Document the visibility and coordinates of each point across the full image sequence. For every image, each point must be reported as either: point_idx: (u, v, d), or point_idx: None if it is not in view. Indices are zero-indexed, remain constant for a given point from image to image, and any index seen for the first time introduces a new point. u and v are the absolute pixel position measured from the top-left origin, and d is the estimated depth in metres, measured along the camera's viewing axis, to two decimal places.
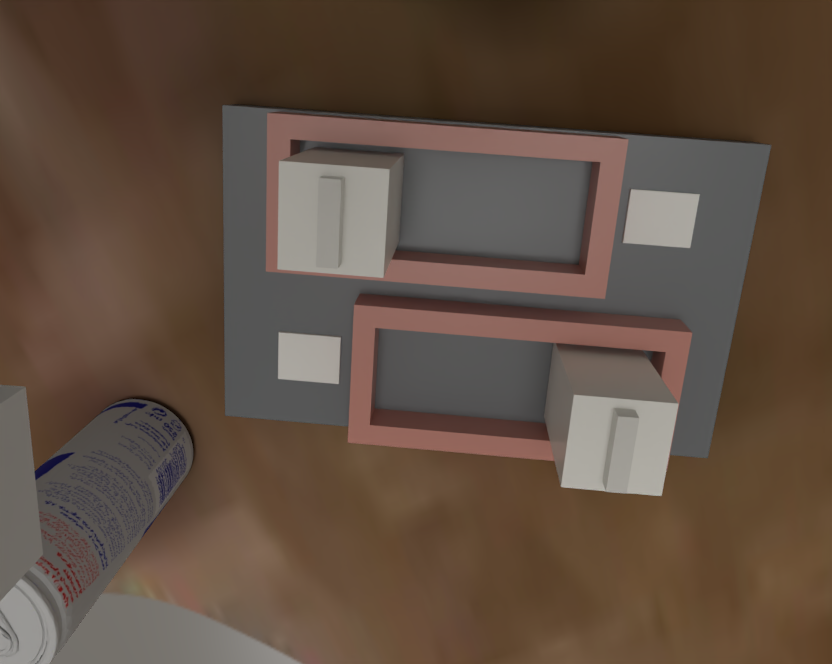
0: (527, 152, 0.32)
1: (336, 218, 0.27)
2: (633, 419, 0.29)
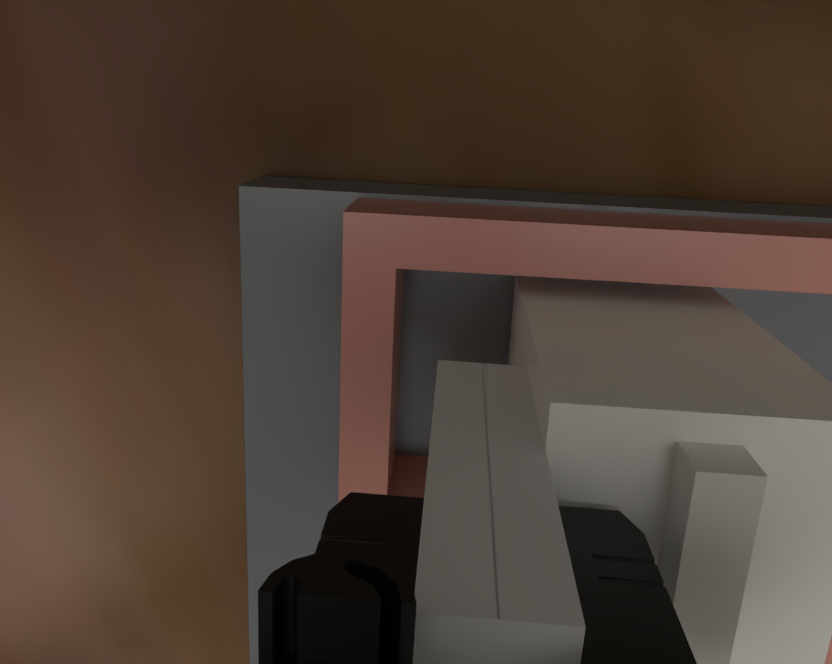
0: None
1: (735, 580, 0.09)
2: None
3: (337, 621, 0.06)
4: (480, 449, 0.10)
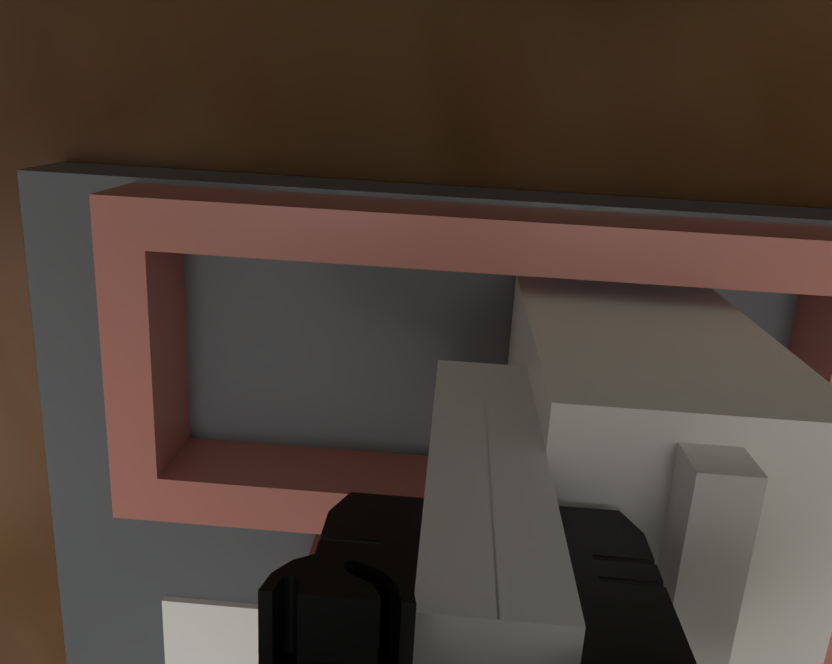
0: (680, 276, 0.14)
1: (735, 581, 0.09)
2: None
3: (337, 621, 0.06)
4: (480, 449, 0.10)
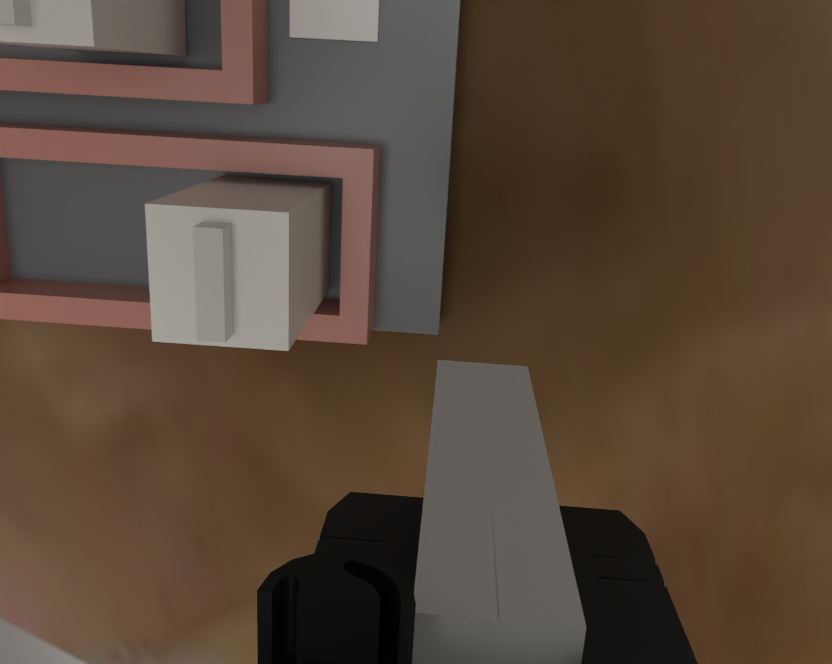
0: None
1: None
2: (216, 231, 0.21)
3: (336, 621, 0.06)
4: (481, 449, 0.10)
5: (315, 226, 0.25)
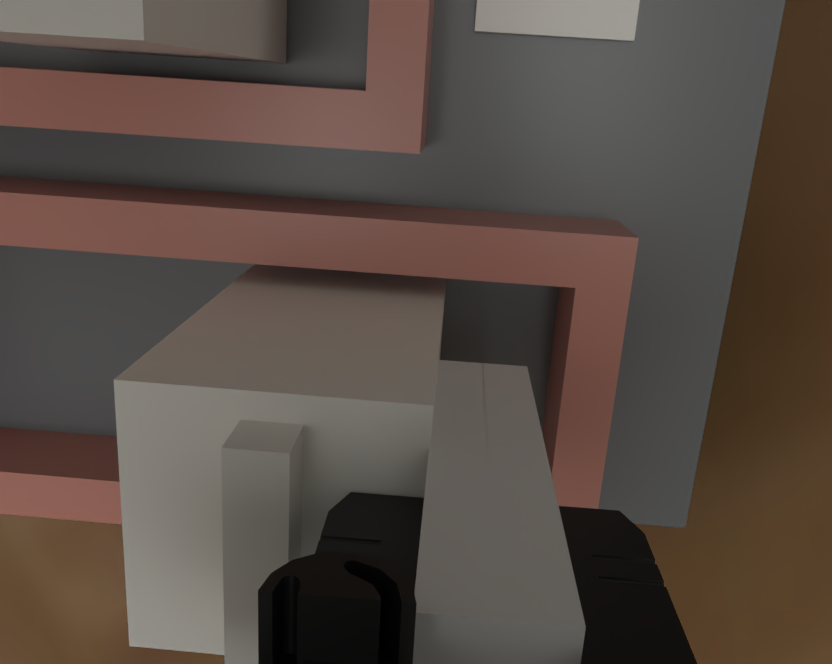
0: None
1: None
2: (274, 457, 0.09)
3: (337, 621, 0.06)
4: (480, 449, 0.10)
5: None
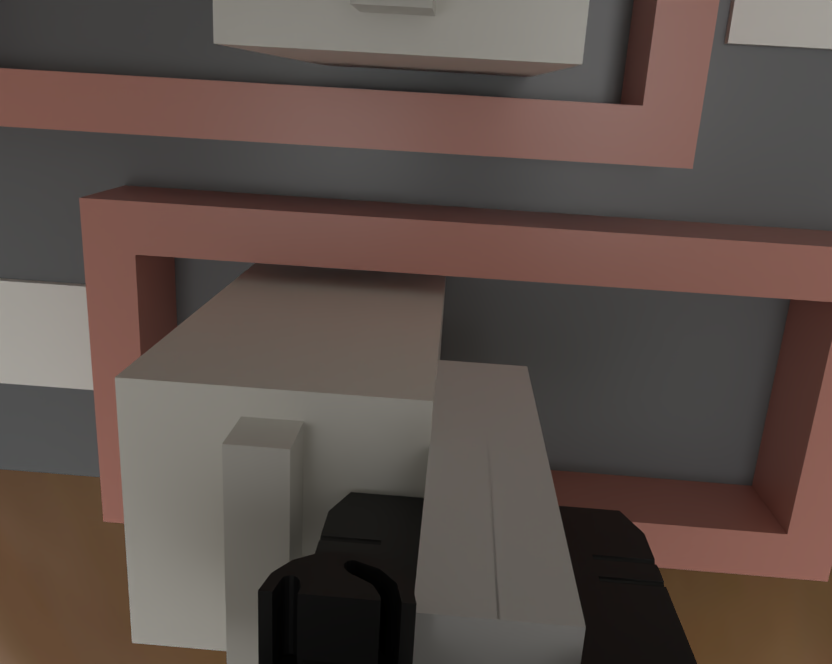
0: None
1: None
2: (274, 453, 0.09)
3: (336, 621, 0.06)
4: (481, 449, 0.10)
5: None
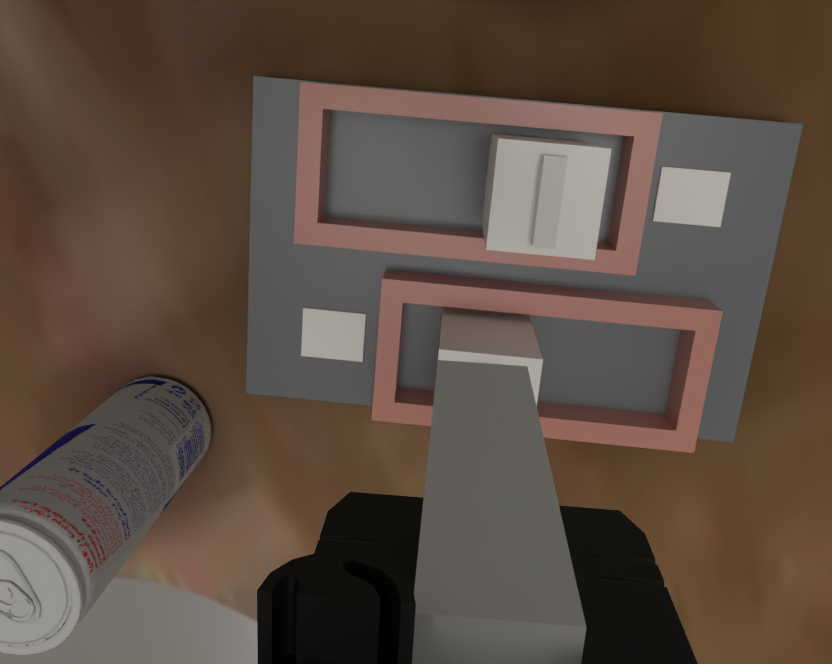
0: (561, 125, 0.32)
1: (558, 197, 0.27)
2: None
3: (336, 621, 0.06)
4: (481, 449, 0.10)
5: None
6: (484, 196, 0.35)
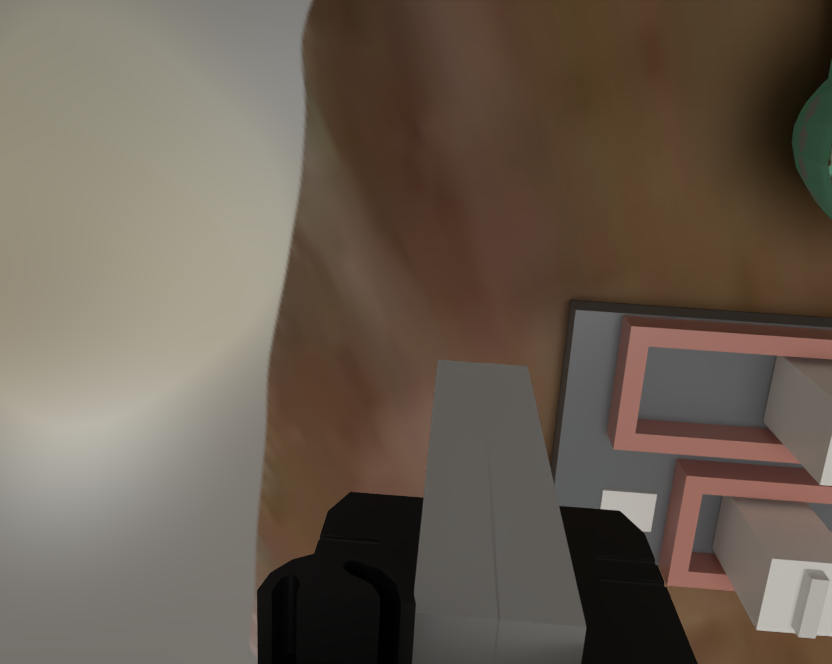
0: None
1: None
2: (824, 581, 0.36)
3: (336, 621, 0.06)
4: (481, 449, 0.10)
5: None
6: (768, 402, 0.41)
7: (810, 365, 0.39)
